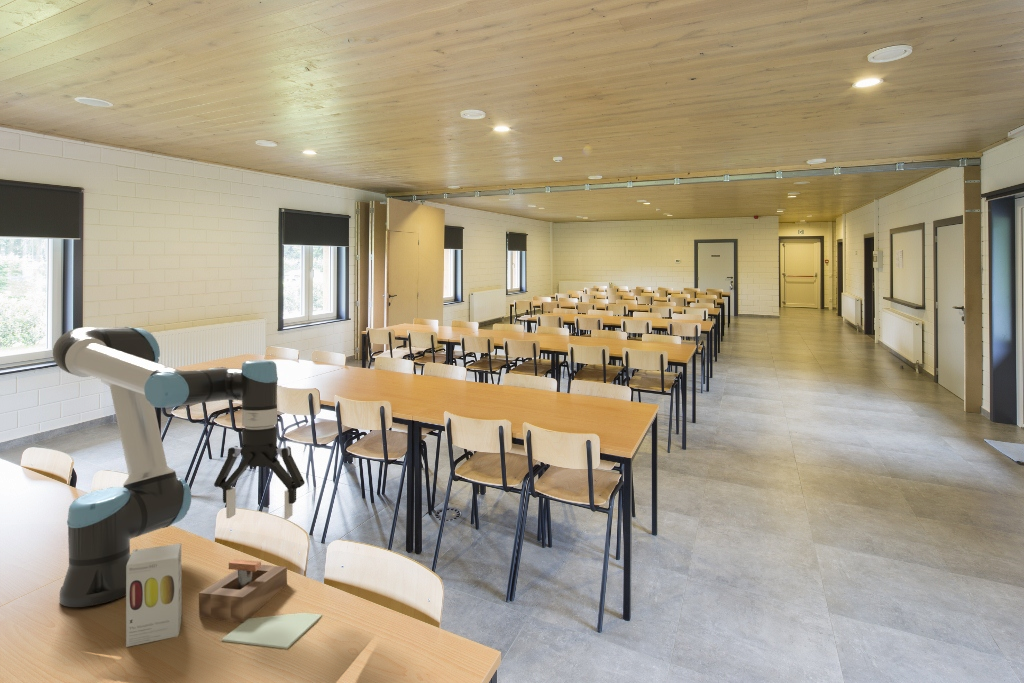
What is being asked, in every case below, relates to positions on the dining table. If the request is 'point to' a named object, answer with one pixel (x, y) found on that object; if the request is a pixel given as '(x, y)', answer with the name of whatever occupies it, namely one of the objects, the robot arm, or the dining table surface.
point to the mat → (273, 630)
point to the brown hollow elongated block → (241, 594)
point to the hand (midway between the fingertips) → (259, 516)
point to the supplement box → (153, 594)
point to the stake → (244, 570)
